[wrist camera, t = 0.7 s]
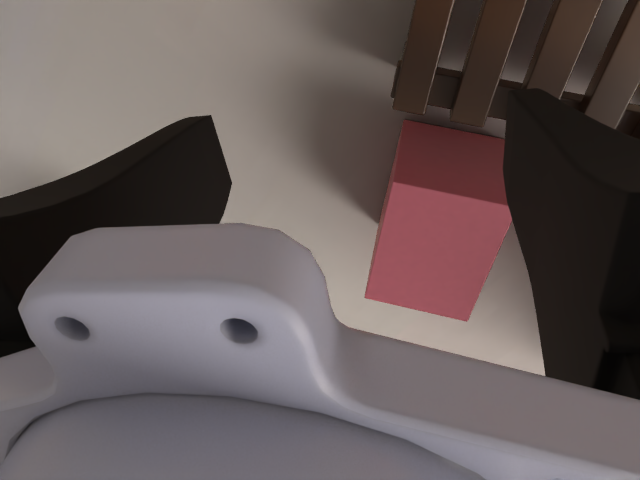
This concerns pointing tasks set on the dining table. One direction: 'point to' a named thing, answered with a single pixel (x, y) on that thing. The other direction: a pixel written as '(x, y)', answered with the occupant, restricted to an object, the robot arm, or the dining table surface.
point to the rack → (543, 72)
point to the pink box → (440, 221)
